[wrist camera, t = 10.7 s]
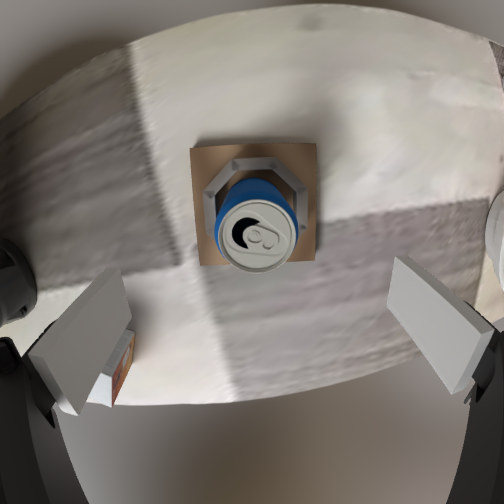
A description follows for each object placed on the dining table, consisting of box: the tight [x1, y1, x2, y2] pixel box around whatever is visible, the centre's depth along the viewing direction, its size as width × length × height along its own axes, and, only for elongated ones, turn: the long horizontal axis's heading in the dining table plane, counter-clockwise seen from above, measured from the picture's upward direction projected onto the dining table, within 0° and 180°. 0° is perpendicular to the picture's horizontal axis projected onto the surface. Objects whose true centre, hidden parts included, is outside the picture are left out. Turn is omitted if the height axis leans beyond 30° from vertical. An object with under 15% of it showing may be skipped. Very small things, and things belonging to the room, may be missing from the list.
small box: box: [88, 329, 135, 408], centre depth 35 cm, size 8×6×10 cm
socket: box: [190, 143, 316, 265], centre depth 31 cm, size 14×14×4 cm
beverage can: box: [214, 177, 299, 273], centre depth 26 cm, size 6×6×12 cm
